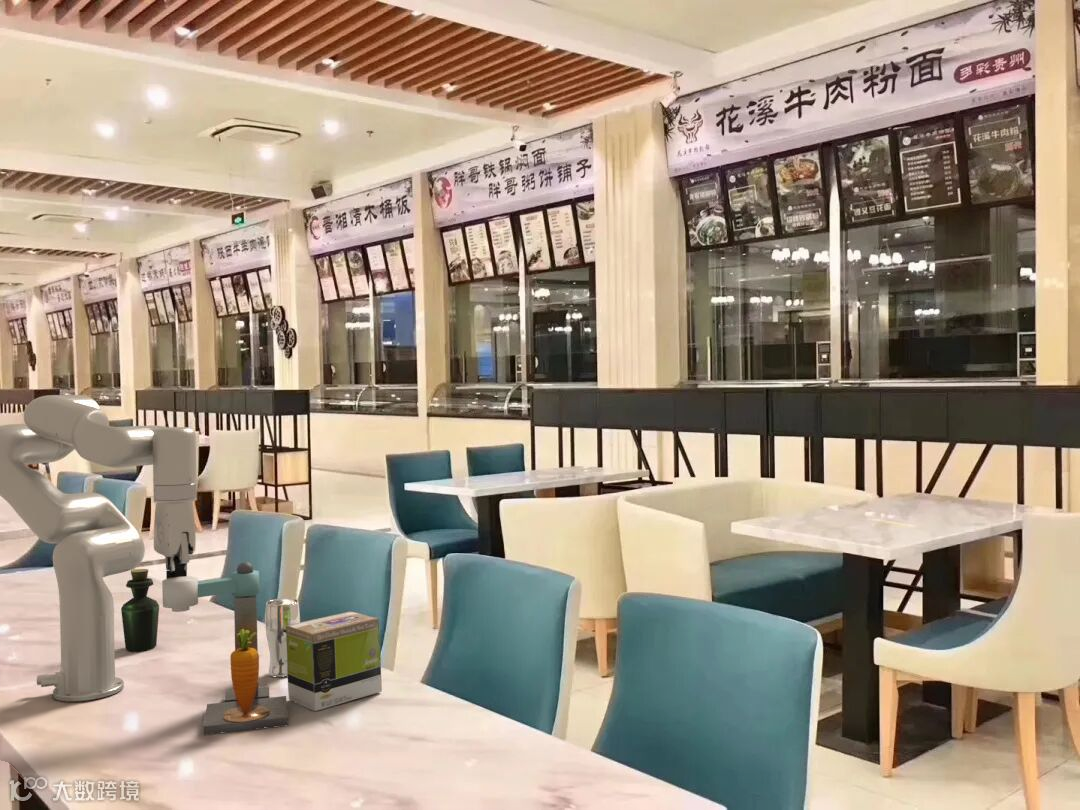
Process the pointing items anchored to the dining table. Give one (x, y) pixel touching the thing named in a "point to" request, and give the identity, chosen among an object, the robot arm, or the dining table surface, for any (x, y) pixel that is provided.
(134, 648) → the potion bottle
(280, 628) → the beer glass
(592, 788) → the dining table surface
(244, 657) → the carrot
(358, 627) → the tea box
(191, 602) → the press arm
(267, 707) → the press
